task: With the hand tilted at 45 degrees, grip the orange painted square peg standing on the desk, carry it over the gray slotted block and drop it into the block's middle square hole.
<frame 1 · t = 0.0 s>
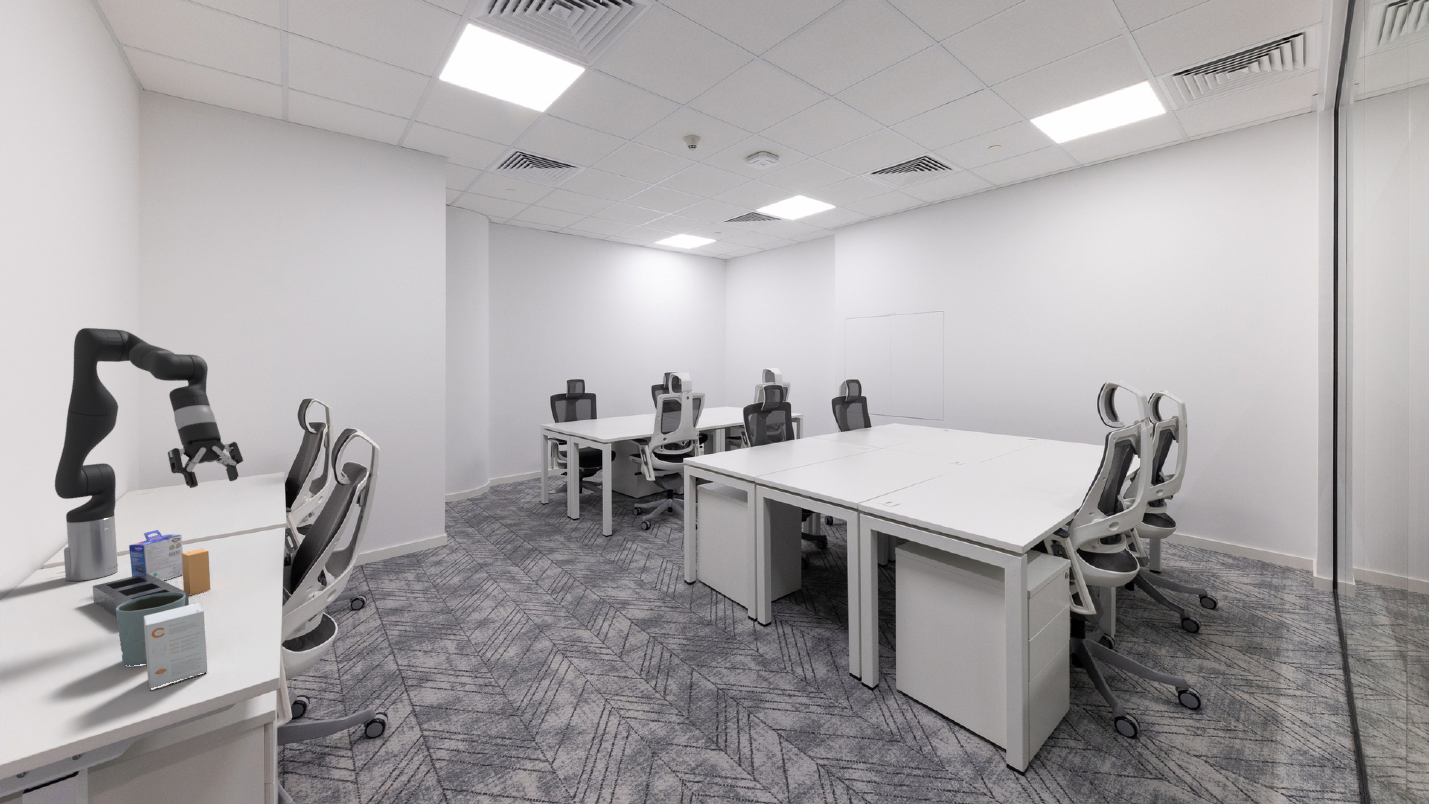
hand: (214, 483, 138), 31 cm above the table, tool tilted 20°, fingers open, 8 cm apart
ink cartridge box: (158, 581, 153), on the table
grey-green hollow cylinder: (154, 656, 112), on the table
square peg: (197, 590, 146), on the table
small box: (177, 677, 105), on the table
gray slotted block: (140, 606, 136), on the table
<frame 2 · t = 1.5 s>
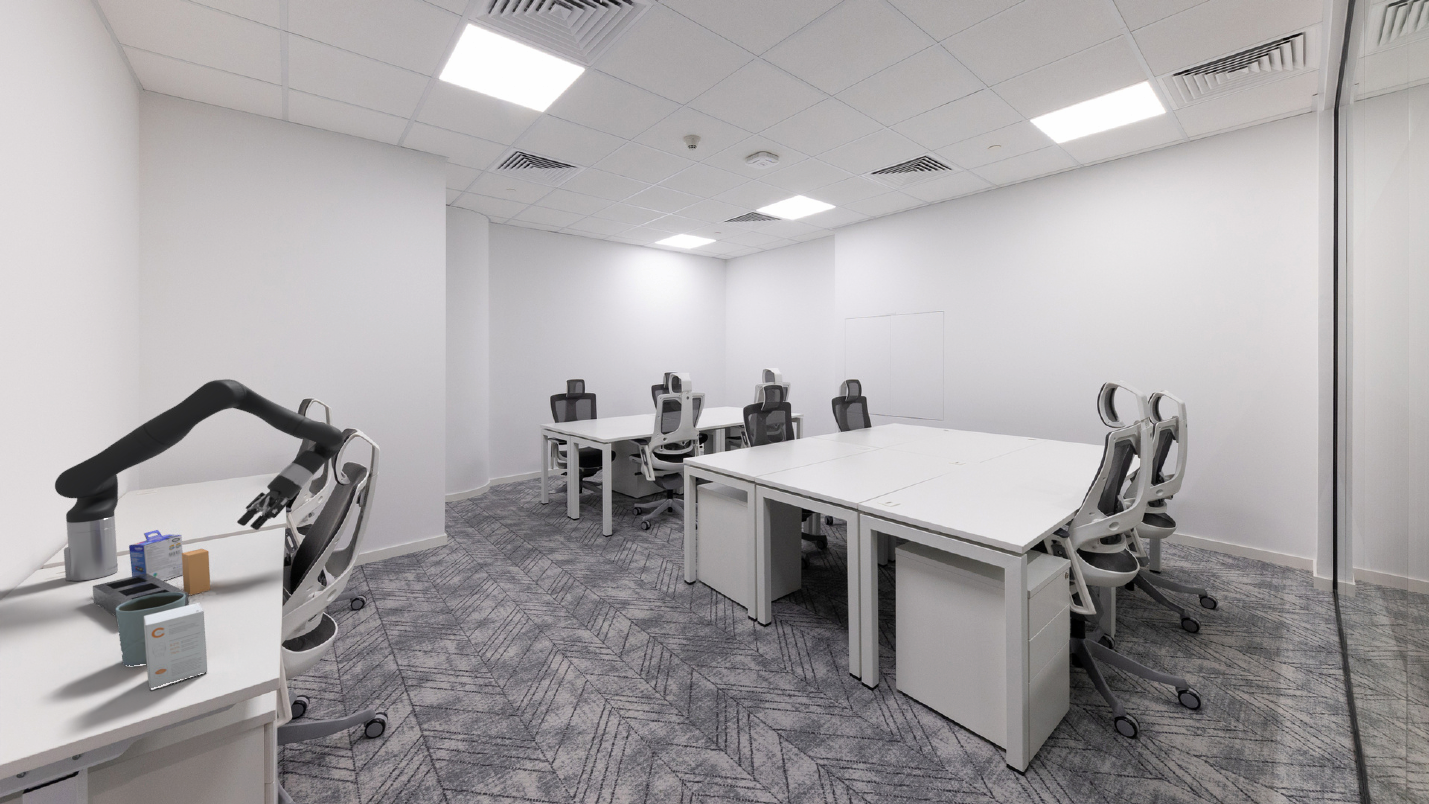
hand: (246, 526, 155), 15 cm above the table, tool tilted 45°, fingers open, 8 cm apart
nothing on the table moved.
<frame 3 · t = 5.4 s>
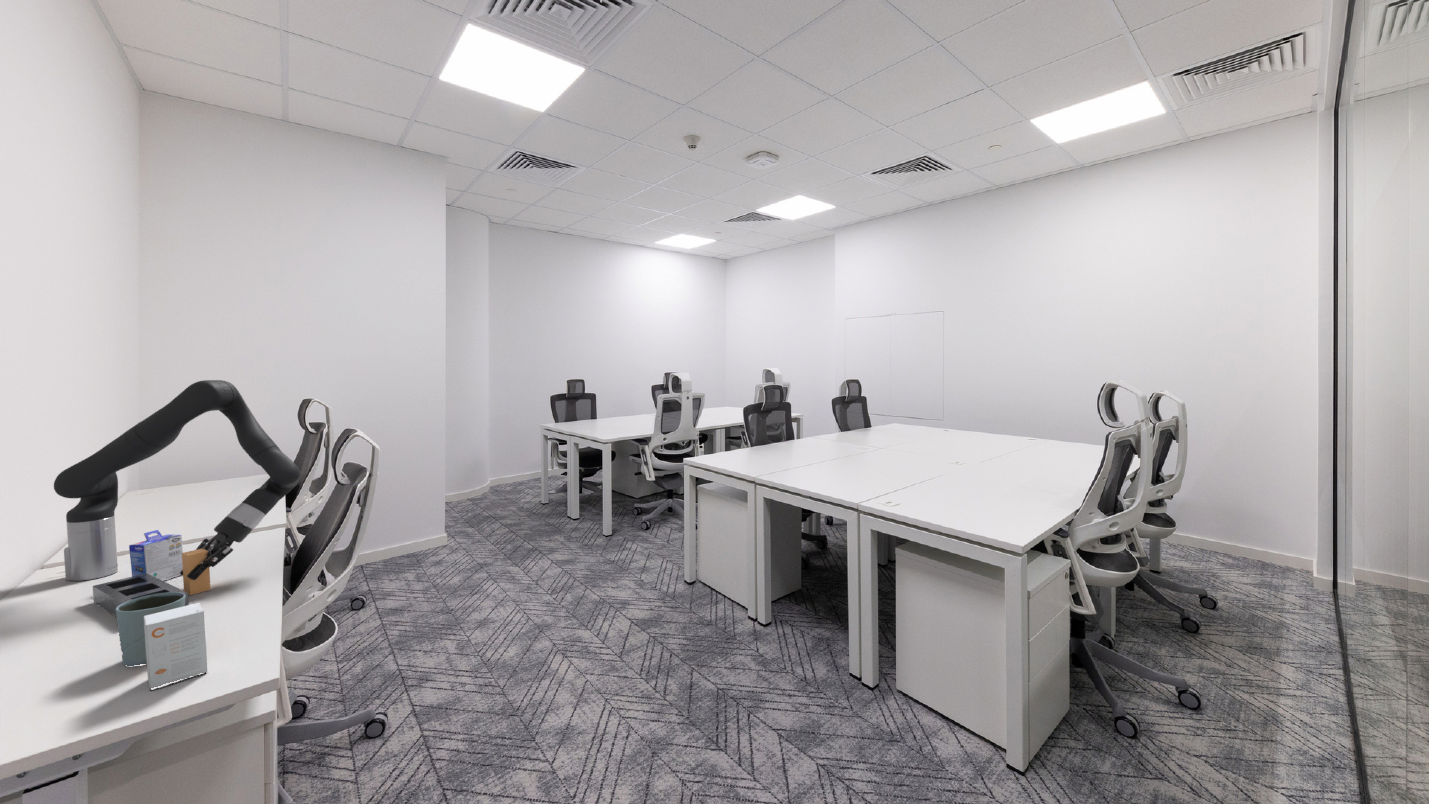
hand: (187, 576, 144), 5 cm above the table, tool tilted 45°, fingers closed on square peg, 4 cm apart
square peg: (197, 590, 146), on the table, touching gripper
everything else where it was.
when the fingers open (11 cm above the table, at t = 10.0 s): square peg drops 5 cm, resting on gray slotted block.
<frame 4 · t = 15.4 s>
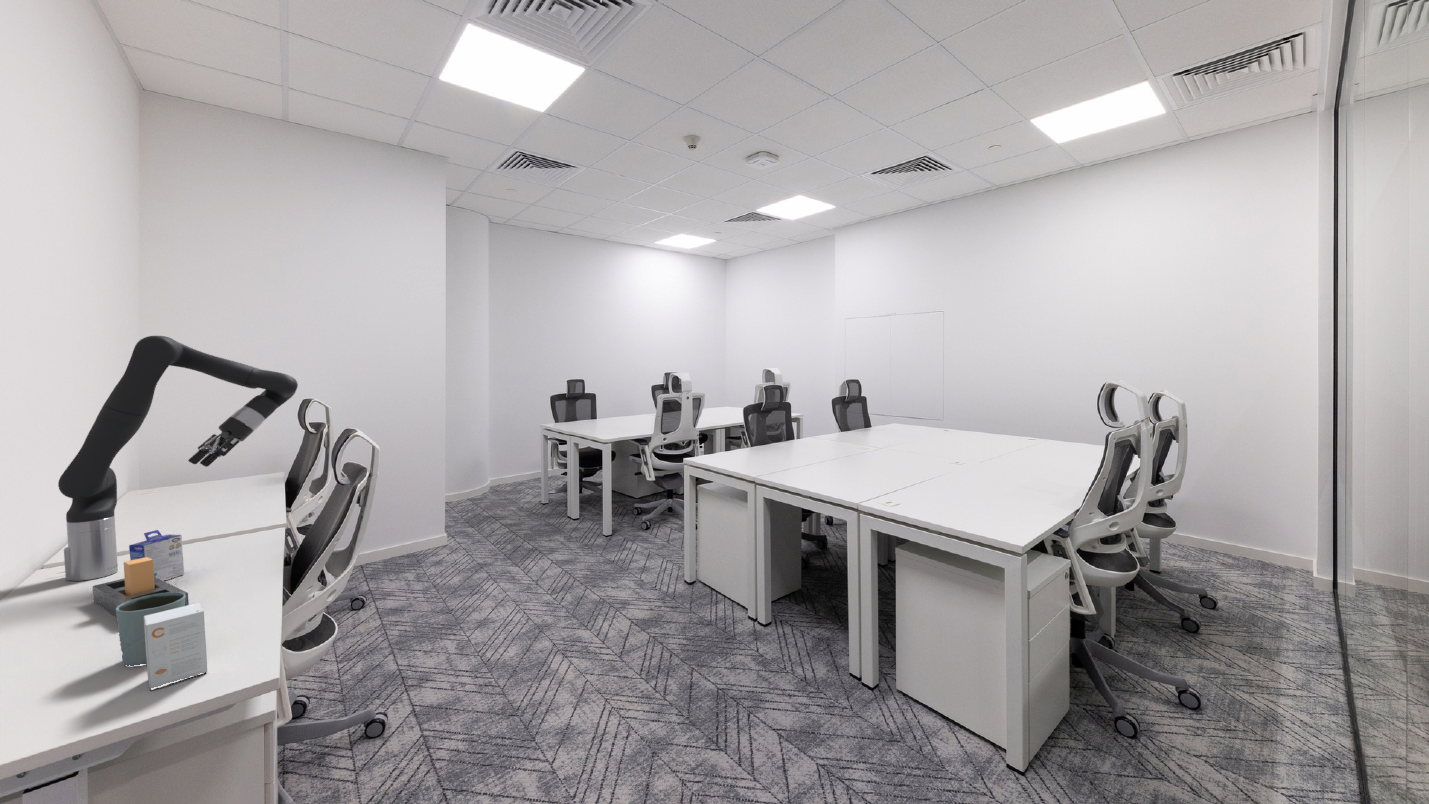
hand: (197, 463, 161), 33 cm above the table, tool tilted 45°, fingers open, 8 cm apart
square peg: (140, 602, 136), point 1 cm above the table, touching gray slotted block
everything else where it was.
at the end: square peg 0.1 cm off-centre on the gray slotted block, point 1.0 cm above the gray slotted block's base; square peg tilted 0°; the gripper is holding nothing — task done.
